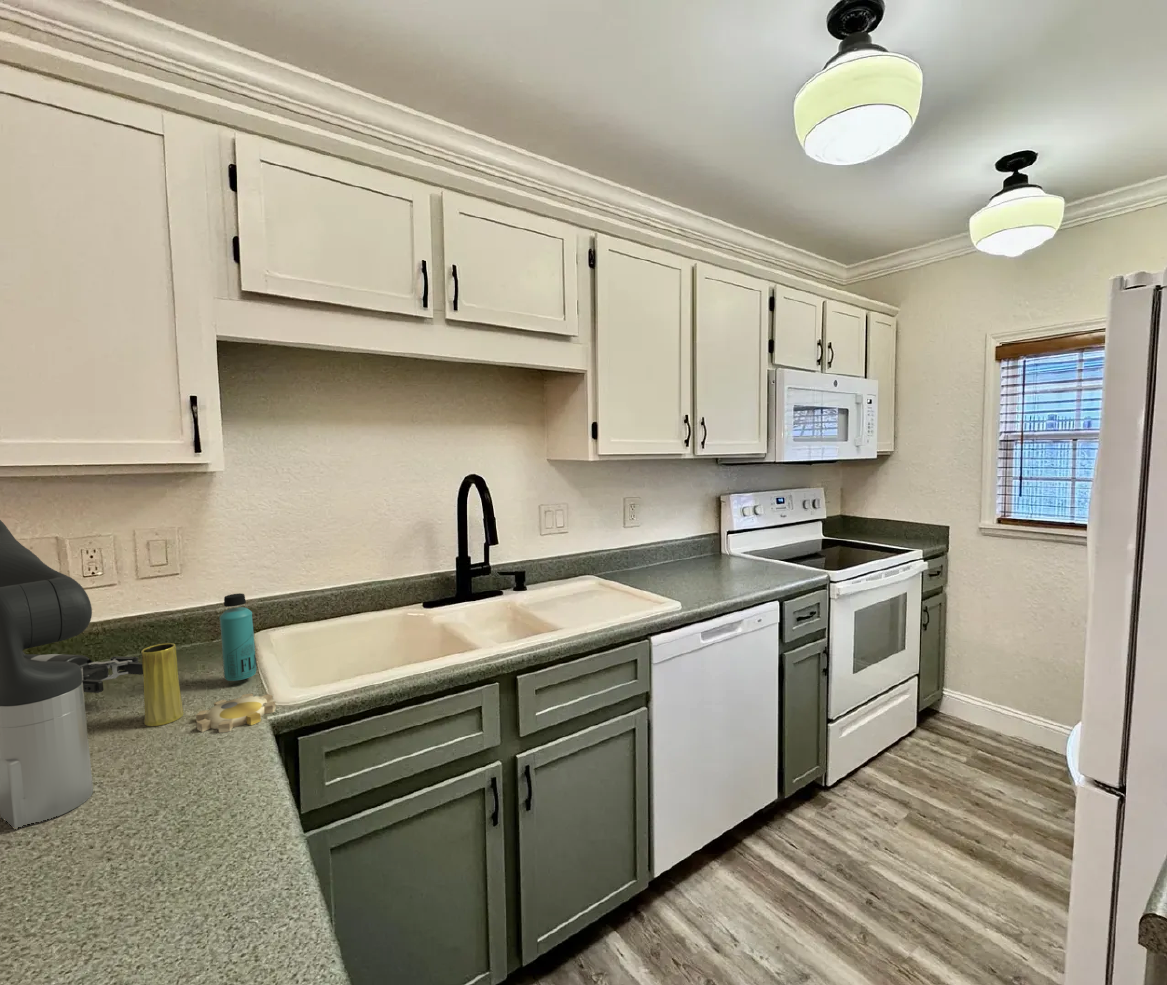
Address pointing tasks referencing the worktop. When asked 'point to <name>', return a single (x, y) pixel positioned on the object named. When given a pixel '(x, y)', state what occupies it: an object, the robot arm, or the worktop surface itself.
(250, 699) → the sprocket board
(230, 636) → the beverage bottle
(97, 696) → the worktop surface
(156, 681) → the vase
